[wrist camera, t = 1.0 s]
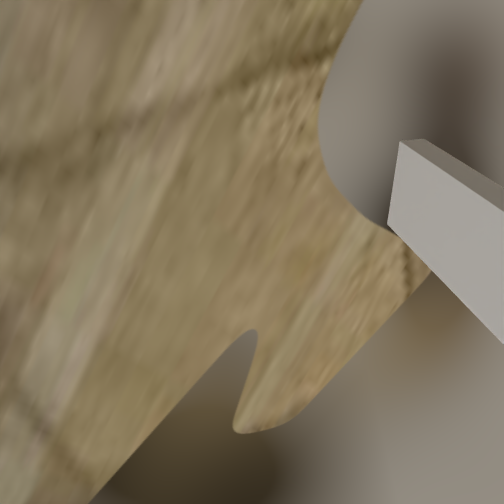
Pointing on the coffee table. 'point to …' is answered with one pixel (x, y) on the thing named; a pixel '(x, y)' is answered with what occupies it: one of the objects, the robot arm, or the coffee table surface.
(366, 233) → the coffee table surface
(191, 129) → the coffee table surface
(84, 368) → the coffee table surface
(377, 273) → the coffee table surface
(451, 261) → the robot arm
